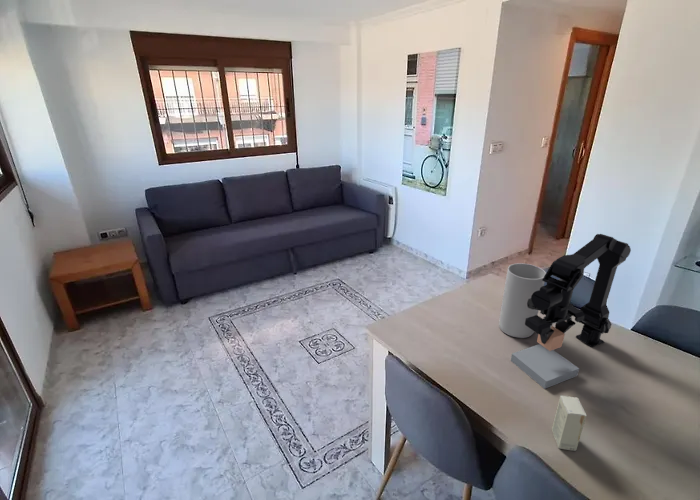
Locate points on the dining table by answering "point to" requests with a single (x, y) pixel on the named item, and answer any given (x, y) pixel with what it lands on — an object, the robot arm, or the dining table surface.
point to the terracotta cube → (553, 340)
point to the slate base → (544, 365)
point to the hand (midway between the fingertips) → (549, 340)
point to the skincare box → (568, 423)
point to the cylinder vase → (519, 298)
